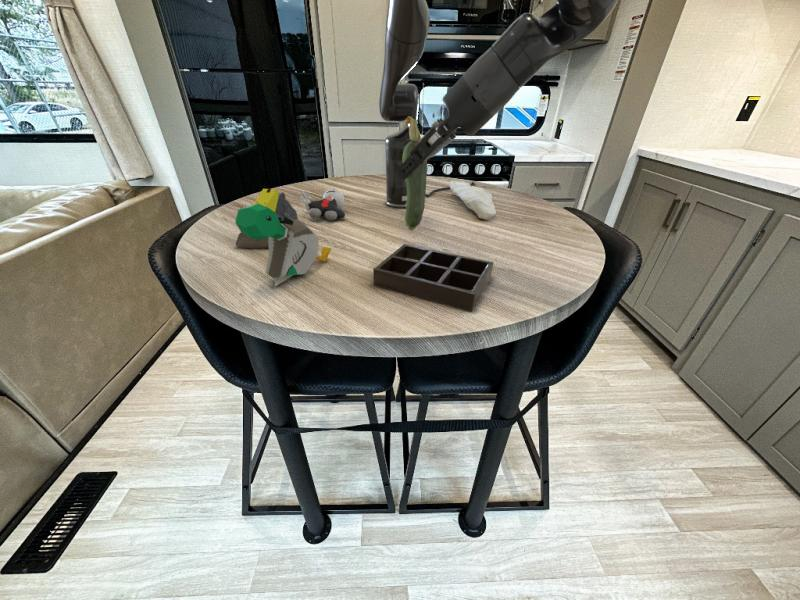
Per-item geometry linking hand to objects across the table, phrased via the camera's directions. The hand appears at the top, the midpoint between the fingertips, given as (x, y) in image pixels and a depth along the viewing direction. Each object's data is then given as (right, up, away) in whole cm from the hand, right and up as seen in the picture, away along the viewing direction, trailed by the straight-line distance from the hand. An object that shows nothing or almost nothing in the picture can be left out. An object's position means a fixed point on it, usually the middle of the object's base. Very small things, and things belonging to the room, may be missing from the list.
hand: (404, 172), depth 59 cm
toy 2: (-24, +3, +40) cm, 46 cm away
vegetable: (+2, -10, +6) cm, 11 cm away
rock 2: (+24, +7, +47) cm, 53 cm away
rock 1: (-33, -8, +23) cm, 41 cm away
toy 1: (-22, -17, +9) cm, 30 cm away
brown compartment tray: (+6, -20, +5) cm, 21 cm away
